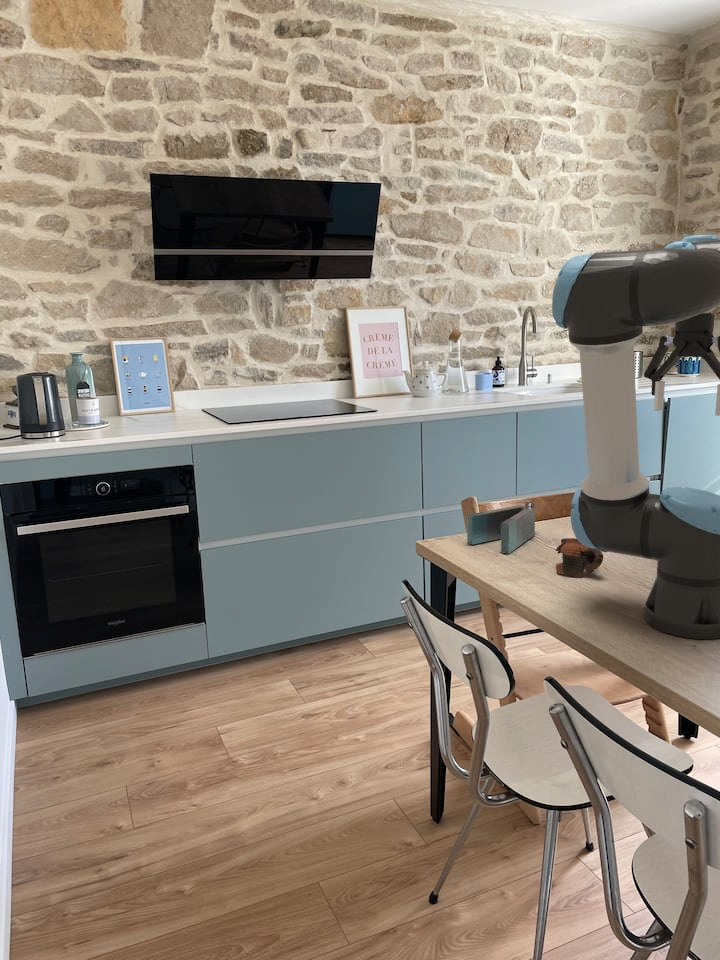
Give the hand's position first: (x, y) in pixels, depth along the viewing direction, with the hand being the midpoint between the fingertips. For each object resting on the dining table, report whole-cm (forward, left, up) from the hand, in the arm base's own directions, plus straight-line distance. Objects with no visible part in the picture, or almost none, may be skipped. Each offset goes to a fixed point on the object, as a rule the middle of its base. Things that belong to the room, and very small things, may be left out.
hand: (688, 412), depth 161 cm
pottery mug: (-26, +10, -32) cm, 42 cm away
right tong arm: (-19, +30, -32) cm, 48 cm away
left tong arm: (-19, +37, -32) cm, 52 cm away
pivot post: (-10, +33, -32) cm, 47 cm away
